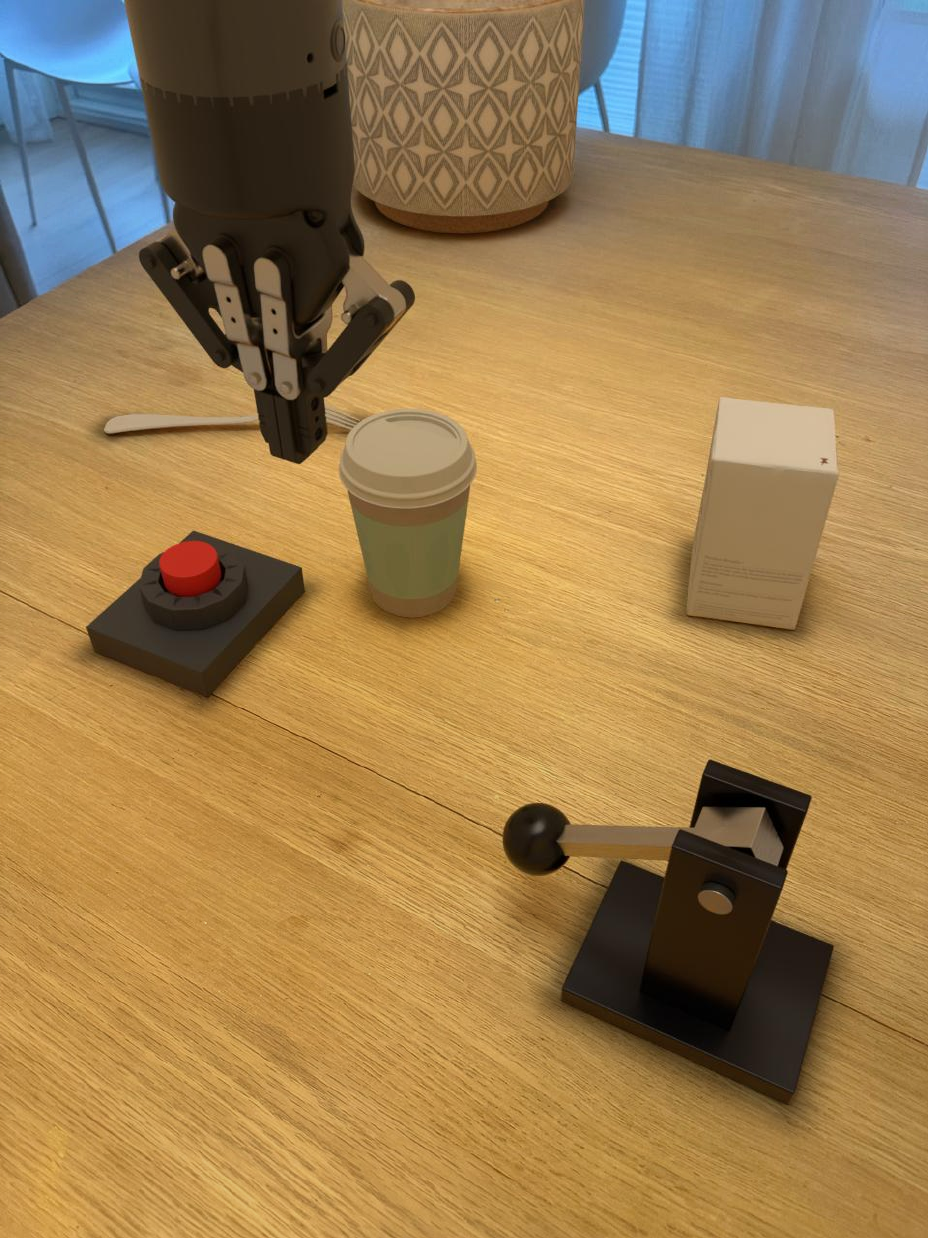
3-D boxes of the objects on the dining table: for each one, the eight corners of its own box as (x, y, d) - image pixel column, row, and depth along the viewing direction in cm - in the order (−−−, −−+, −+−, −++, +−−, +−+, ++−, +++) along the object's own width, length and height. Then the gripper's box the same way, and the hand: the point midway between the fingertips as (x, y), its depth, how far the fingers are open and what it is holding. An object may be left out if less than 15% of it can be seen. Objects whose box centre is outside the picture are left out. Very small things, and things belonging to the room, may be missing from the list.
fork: (119, 442, 89) (108, 414, 88) (360, 417, 88) (354, 388, 86) (111, 461, 87) (99, 433, 85) (358, 435, 86) (352, 406, 84)
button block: (207, 697, 65) (196, 651, 62) (93, 651, 68) (78, 605, 65) (305, 591, 72) (299, 545, 69) (198, 554, 75) (188, 509, 72)
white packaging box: (796, 562, 74) (839, 406, 65) (795, 634, 69) (842, 474, 60) (690, 547, 75) (718, 392, 67) (681, 616, 70) (711, 457, 61)
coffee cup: (500, 602, 71) (504, 452, 63) (389, 649, 68) (378, 498, 60) (434, 535, 76) (431, 389, 68) (329, 576, 73) (311, 428, 65)
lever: (509, 889, 50) (478, 839, 49) (538, 836, 53) (509, 787, 51) (770, 908, 42) (742, 849, 41) (791, 845, 44) (765, 787, 43)
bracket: (559, 1000, 50) (579, 843, 42) (618, 872, 55) (646, 708, 47) (789, 1106, 47) (862, 957, 38) (829, 957, 52) (902, 797, 43)
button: (198, 604, 66) (193, 583, 64) (152, 587, 67) (146, 566, 66) (232, 571, 68) (228, 550, 67) (187, 555, 69) (183, 534, 68)
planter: (531, 258, 110) (541, 20, 95) (314, 224, 117) (290, -4, 102) (597, 174, 128) (614, -39, 113) (404, 148, 134) (396, -56, 119)
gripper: (30, 57, 38) (136, 456, 50) (340, 114, 33) (375, 537, 45) (164, 6, 43) (232, 381, 55) (451, 50, 38) (456, 448, 50)
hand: (297, 451), depth 50 cm, fingers closed
